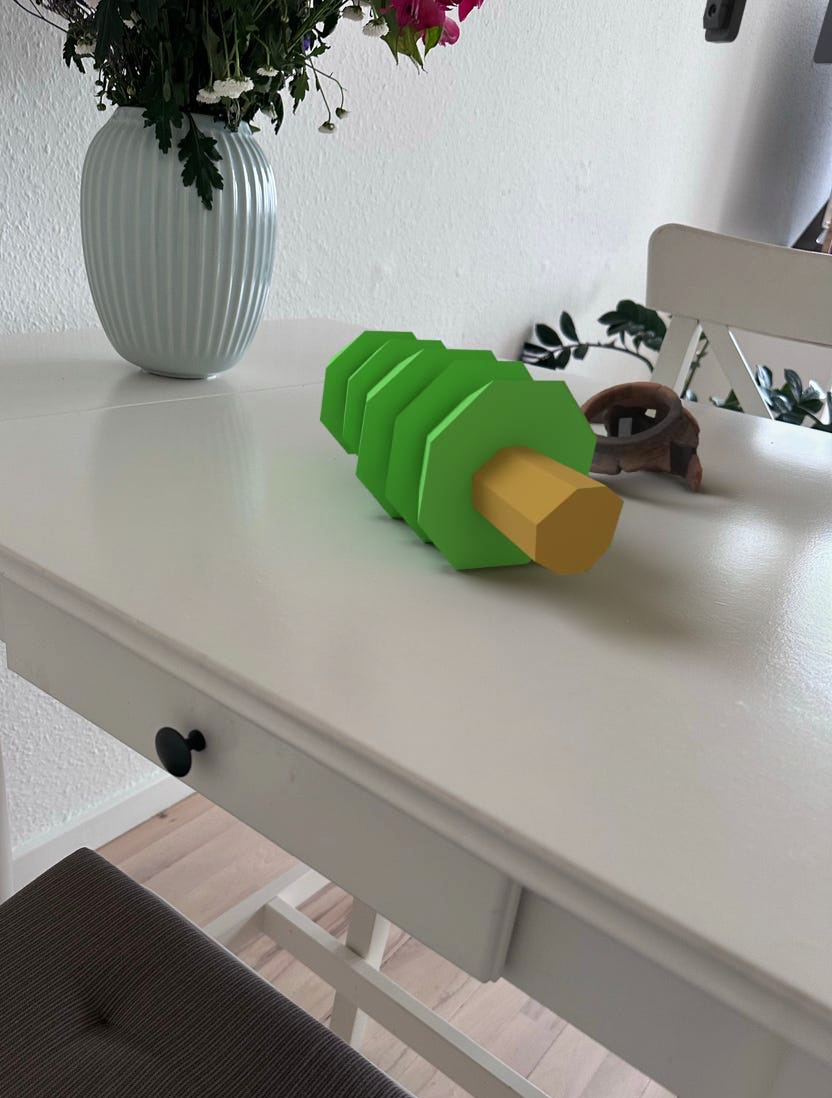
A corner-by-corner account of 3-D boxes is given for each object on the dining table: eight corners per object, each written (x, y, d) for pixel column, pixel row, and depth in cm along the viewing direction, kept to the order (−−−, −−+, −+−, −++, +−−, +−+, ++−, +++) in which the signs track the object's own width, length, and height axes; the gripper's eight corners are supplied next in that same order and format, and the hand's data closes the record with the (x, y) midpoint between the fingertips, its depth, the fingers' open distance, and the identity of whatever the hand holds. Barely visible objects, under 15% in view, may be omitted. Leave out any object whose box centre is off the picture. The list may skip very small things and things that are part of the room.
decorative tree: (569, 374, 40) (303, 247, 63) (436, 605, 44) (229, 405, 67) (722, 465, 47) (430, 320, 70) (596, 661, 50) (357, 461, 73)
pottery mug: (727, 516, 68) (718, 419, 62) (595, 557, 69) (575, 467, 64) (671, 427, 77) (659, 336, 71) (555, 466, 78) (535, 380, 73)
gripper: (820, -368, 46) (722, 31, 53) (1025, -285, 51) (910, 69, 58) (717, -313, 52) (642, 38, 59) (910, -244, 57) (819, 71, 64)
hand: (775, 53), depth 59 cm, fingers open, 8 cm apart
